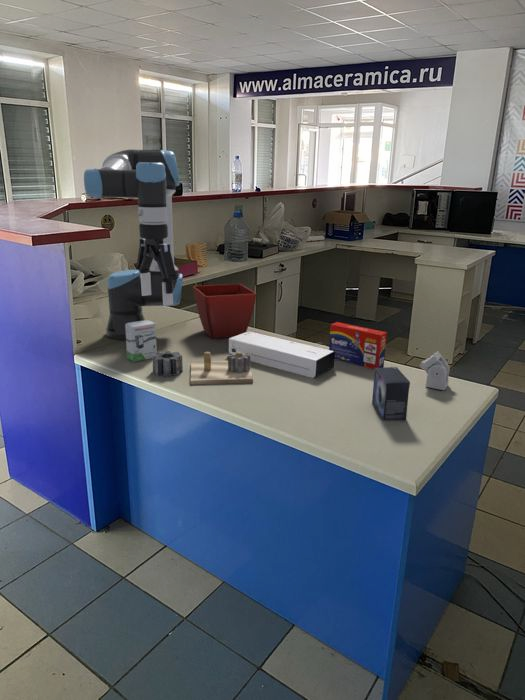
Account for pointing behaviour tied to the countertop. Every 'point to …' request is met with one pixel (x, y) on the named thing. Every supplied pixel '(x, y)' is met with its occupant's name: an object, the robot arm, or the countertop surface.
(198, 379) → the gear puzzle board
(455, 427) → the countertop surface
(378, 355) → the toy box
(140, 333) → the ink box
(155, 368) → the planet gear
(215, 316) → the plant pot
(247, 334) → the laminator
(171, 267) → the robot arm
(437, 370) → the mechanical component
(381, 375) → the small box
